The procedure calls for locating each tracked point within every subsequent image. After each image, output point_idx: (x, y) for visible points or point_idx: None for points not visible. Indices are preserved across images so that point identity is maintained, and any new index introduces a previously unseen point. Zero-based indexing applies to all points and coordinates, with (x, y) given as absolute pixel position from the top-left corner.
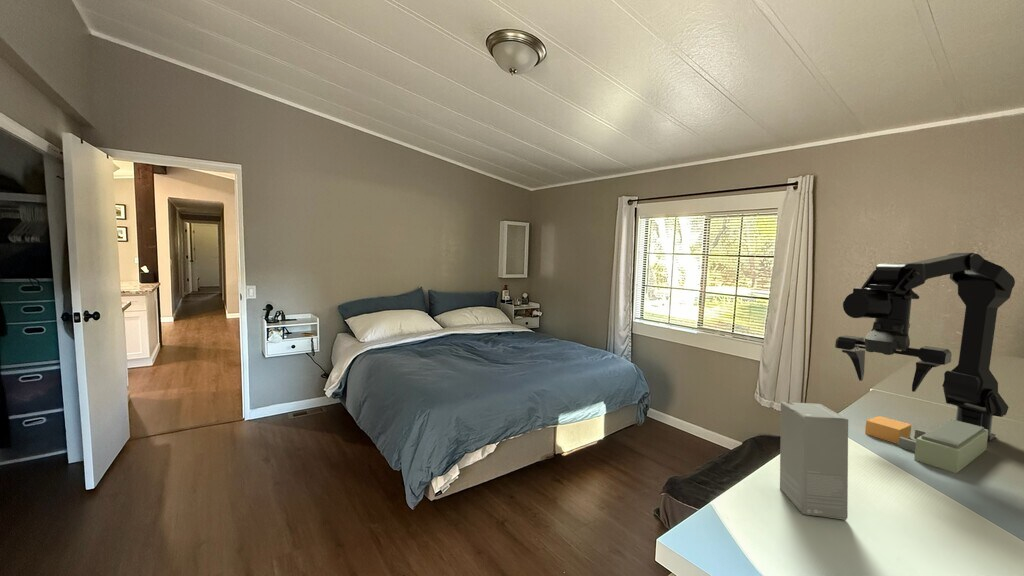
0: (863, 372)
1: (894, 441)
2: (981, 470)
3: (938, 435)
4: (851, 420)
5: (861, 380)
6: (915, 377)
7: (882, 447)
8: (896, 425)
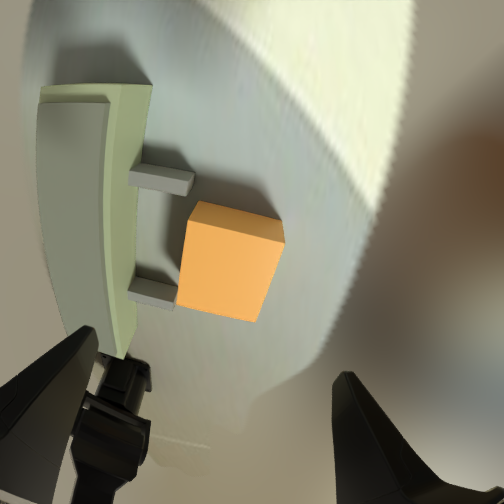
0: (337, 428)
1: (207, 203)
2: None
3: (75, 165)
4: (313, 310)
5: (342, 372)
6: (34, 387)
7: (230, 120)
8: (202, 263)
